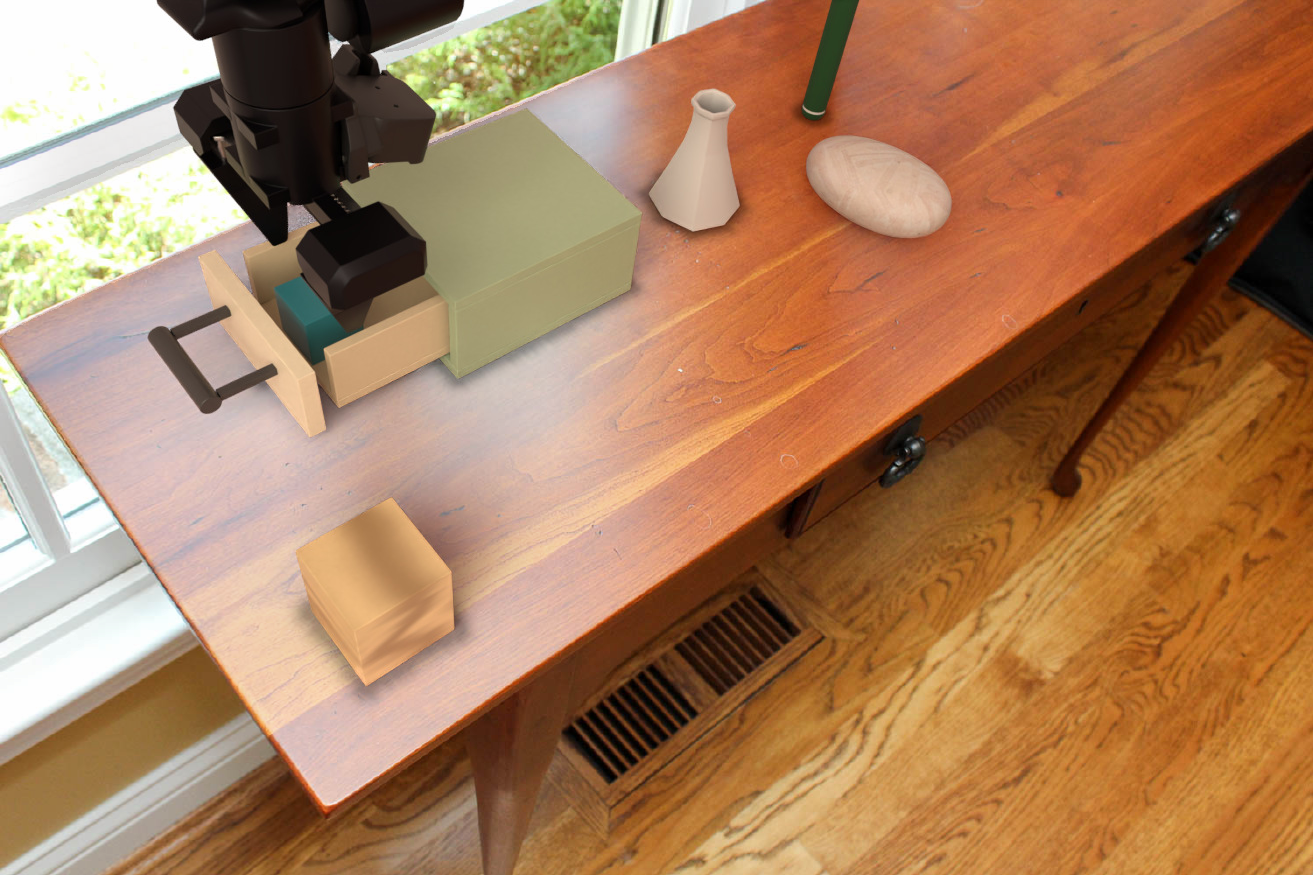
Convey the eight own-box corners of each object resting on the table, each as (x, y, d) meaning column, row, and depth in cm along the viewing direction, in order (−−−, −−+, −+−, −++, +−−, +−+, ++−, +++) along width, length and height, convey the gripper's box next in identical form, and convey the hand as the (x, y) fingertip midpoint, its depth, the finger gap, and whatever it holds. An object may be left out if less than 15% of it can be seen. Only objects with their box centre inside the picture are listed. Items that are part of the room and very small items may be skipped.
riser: (365, 687, 61) (353, 631, 55) (311, 610, 63) (294, 550, 58) (454, 629, 64) (452, 571, 58) (399, 558, 66) (391, 496, 60)
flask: (632, 194, 89) (646, 92, 81) (695, 163, 92) (714, 61, 84) (691, 245, 86) (712, 144, 78) (754, 210, 89) (780, 110, 81)
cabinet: (457, 379, 75) (455, 302, 69) (352, 262, 80) (341, 180, 74) (630, 289, 82) (642, 212, 76) (523, 187, 87) (526, 107, 81)
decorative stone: (777, 198, 91) (791, 150, 87) (832, 151, 96) (847, 104, 92) (906, 274, 87) (926, 228, 83) (956, 221, 92) (978, 176, 88)
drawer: (234, 476, 67) (215, 419, 62) (142, 350, 72) (118, 287, 67) (496, 343, 76) (497, 284, 71) (398, 238, 81) (393, 177, 76)
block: (313, 366, 71) (305, 325, 68) (282, 328, 73) (273, 287, 70) (365, 340, 73) (360, 300, 70) (334, 305, 75) (328, 263, 71)
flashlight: (779, 97, 99) (835, -120, 83) (830, 97, 100) (896, -117, 84) (792, 132, 96) (853, -86, 81) (845, 132, 97) (916, -83, 82)
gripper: (506, 123, 57) (503, 322, 69) (323, -47, 64) (349, 161, 77) (317, 198, 52) (350, 399, 64) (141, 4, 59) (201, 218, 71)
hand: (315, 284), depth 69 cm, fingers open, 9 cm apart
